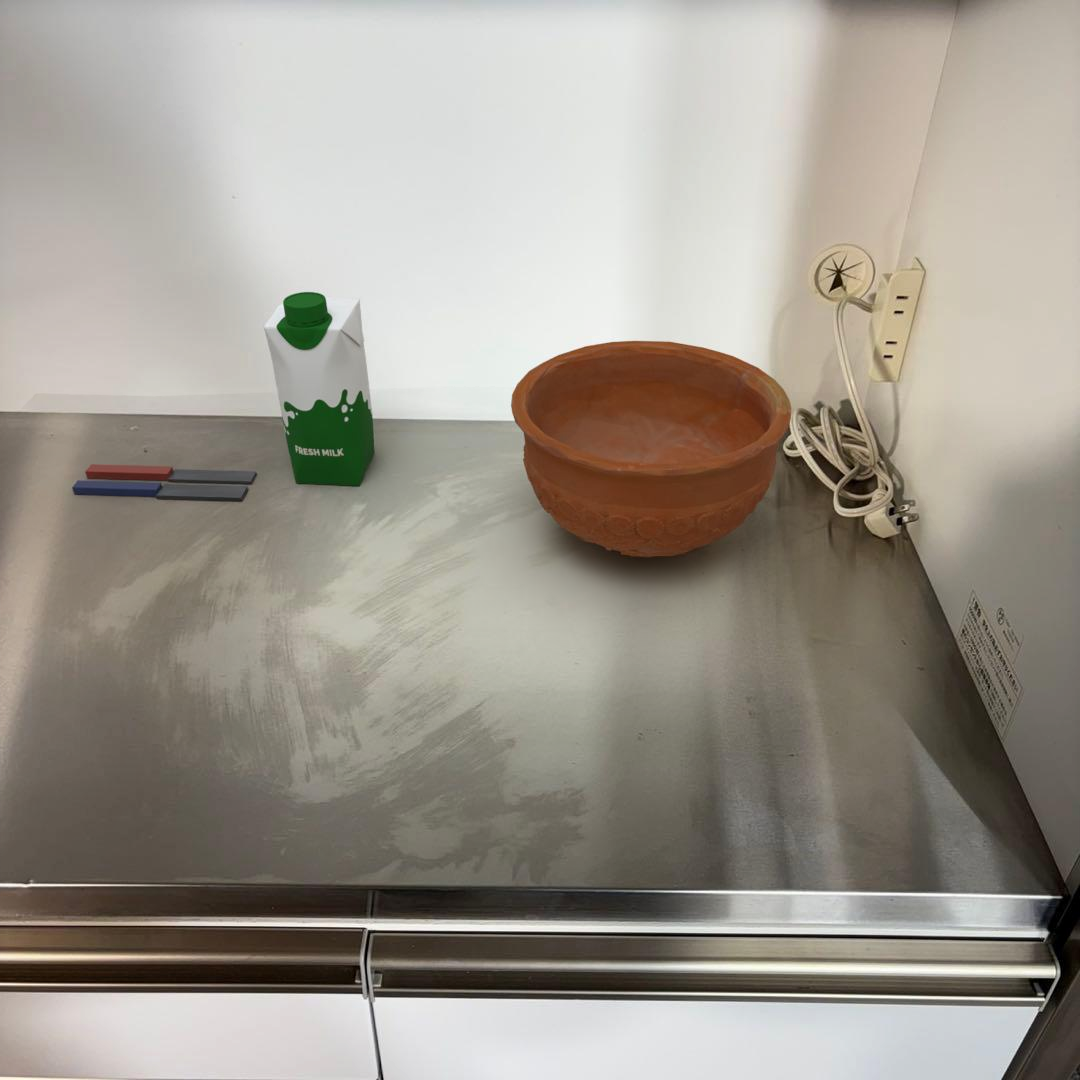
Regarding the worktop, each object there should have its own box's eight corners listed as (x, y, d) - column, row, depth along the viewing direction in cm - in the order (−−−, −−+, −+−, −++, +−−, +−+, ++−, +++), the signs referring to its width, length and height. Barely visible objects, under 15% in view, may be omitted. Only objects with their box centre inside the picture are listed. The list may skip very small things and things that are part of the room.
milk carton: (284, 487, 102) (251, 307, 91) (308, 444, 110) (280, 273, 98) (366, 491, 102) (343, 310, 90) (385, 448, 109) (365, 275, 97)
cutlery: (72, 496, 101) (69, 489, 100) (94, 470, 105) (91, 462, 105) (242, 501, 100) (240, 494, 100) (257, 474, 104) (255, 467, 104)
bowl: (800, 606, 86) (829, 461, 78) (520, 618, 85) (517, 472, 76) (736, 462, 106) (754, 334, 98) (508, 470, 105) (505, 341, 96)
